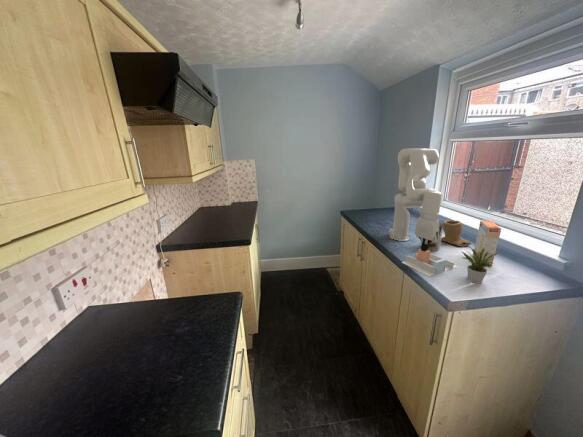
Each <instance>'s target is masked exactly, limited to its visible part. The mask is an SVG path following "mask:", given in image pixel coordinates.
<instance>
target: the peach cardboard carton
mask: <svg viewBox="0 0 583 437" xmlns="http://www.w3.org/2000/svg"><path fill="white" fill-rule="evenodd" d="M417 253H418V254H417V259H418V260H420V261H422V262H425V263H427V264H429V258H430V253H431V250H427V251H423V250H421V248H419V249H417Z"/></svg>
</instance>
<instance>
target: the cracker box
mask: <svg viewBox="0 0 583 437" xmlns="http://www.w3.org/2000/svg"><path fill="white" fill-rule="evenodd" d="M478 226H479V227H478V230H477V235H476V240H475V245H474V248H473V249H475V250H476V251H475V252H477V253H476V254H478V256H479V257H480V252H481V250H482V249H483V247H485V250H484V253H483V255H482V256H483V257H484V255H485V254H486V252H487V251H488V253H489V254H487V255H486V257H485V259H486V258H488V257H489V256H491V255H493V254H496V251H497V247H498V243H499V239H500V235H501V232H502V228H501V227H500V226H499V225H497V223H495V222H494V221H493V220H480V223H479V225H478ZM472 256H474V253H473V252H472ZM475 257H476V256H475ZM483 257H482V259H483ZM492 258H493V259H492ZM490 259H491V260H490ZM490 259H488V260H489V261H488V260H487V261H486V262H492V263H494V259H495V256H493V257H491V258H490ZM489 265H492V266H493V264H489Z"/></svg>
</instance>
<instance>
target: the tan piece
mask: <svg viewBox="0 0 583 437" xmlns="http://www.w3.org/2000/svg"><path fill="white" fill-rule="evenodd" d="M442 225H444V226H443V232H444V236H443V237H441V241H442V242H446V243H449V244H452V245H455V246H459V247H468V246H469V247H470V245H472V242H470V241H468V240H465V239H462V238H460V237H461V234H462V232H463V223H462V222H461V221H460V220H452V219H451V220H450V219H448V220H445V221H443V222H442Z"/></svg>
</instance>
